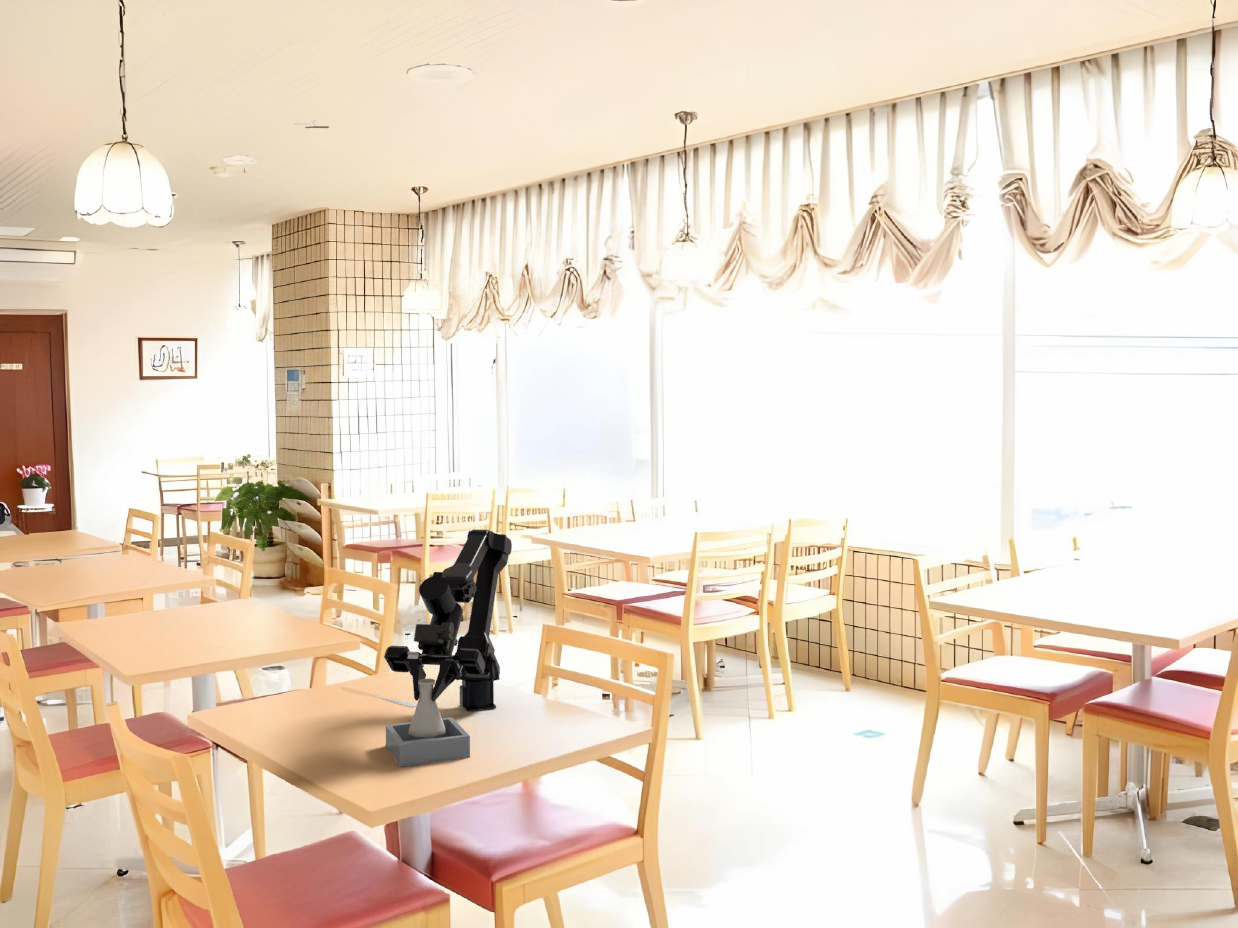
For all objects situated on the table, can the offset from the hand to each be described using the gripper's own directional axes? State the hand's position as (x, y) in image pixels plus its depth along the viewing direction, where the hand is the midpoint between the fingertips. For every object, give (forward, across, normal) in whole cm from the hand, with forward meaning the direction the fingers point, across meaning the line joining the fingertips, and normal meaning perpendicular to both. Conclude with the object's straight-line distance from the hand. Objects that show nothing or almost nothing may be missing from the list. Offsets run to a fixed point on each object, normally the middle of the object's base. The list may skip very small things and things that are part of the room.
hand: (424, 699), depth 197 cm
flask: (+4, 0, +6) cm, 7 cm away
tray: (+6, 0, +8) cm, 10 cm away
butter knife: (-17, -25, +33) cm, 45 cm away
